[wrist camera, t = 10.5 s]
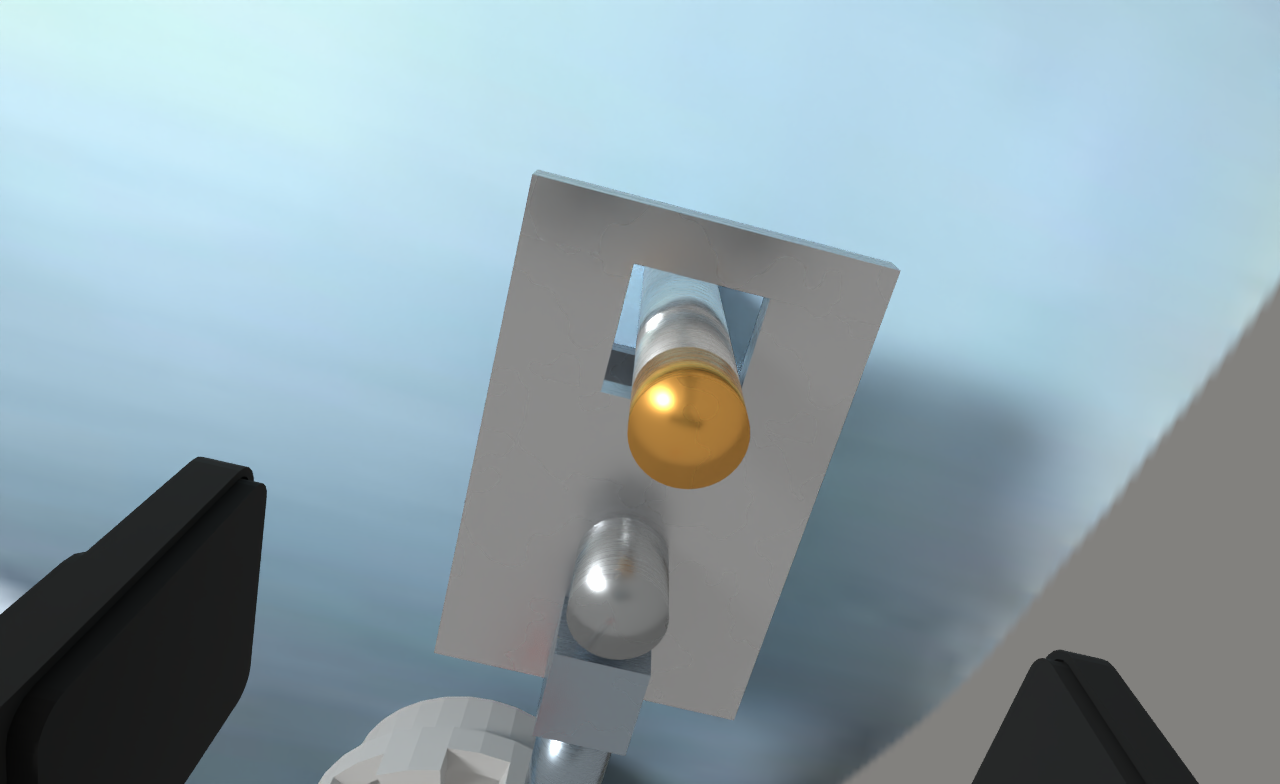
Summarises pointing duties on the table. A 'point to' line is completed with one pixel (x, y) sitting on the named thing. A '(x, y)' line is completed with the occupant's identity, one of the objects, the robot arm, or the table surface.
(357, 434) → the table surface
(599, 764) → the plate with square hole
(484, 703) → the flag stand
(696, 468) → the pin
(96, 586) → the robot arm
